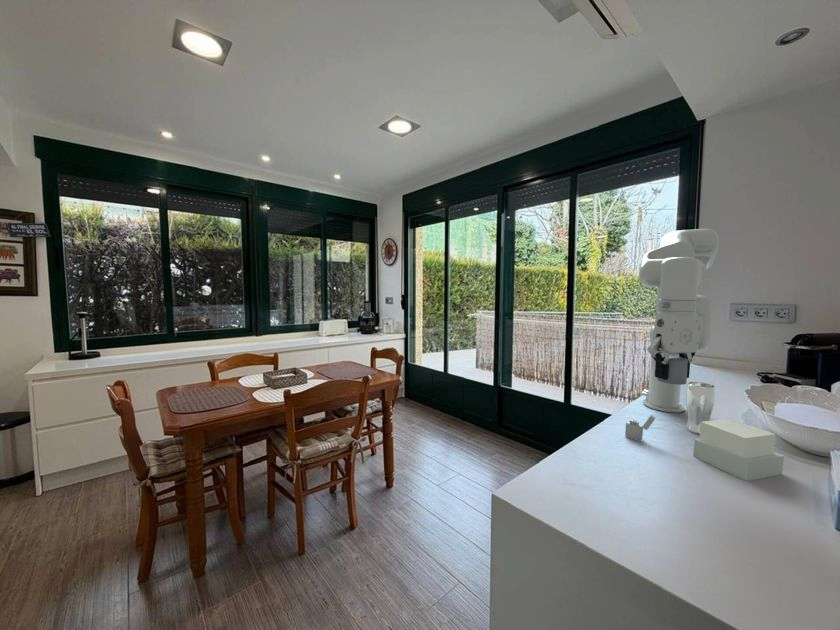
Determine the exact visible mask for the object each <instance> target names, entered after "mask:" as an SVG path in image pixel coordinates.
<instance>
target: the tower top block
mask: <svg viewBox="0 0 840 630" xmlns="http://www.w3.org/2000/svg"><path fill="white" fill-rule="evenodd" d="M698 439H699V440H700V441H703V442H705V443H707V444H710V445H712V446H715V447H717V448H719V449H722V450H724V451H726V452H729V453H731V454H733V455H736V456H738V457H741V458H743V459H744V458H751V457H758V456H764V455H771V454H774V452H775V445H776V433H773V432H770V431H768V430H764V429H761V428H758V427H756V426H753V425H749V424H747V423H743V422H740V421H737V420H734V419H733V418H732V419H731V418H724V419H723V418H722V419H714V420H710V421H703V422H701V427H700V435H699V438H698Z"/></svg>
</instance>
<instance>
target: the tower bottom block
mask: <svg viewBox="0 0 840 630" xmlns="http://www.w3.org/2000/svg"><path fill="white" fill-rule="evenodd" d="M699 439H700V438H695V439H694V442H693V457H694V458H696V459H698V460H701V461H703V462H705V463H707V464H709V465H711V466H714V467H716V468H718V469H720V470H722V471H724V472H727V473H729V474H731V475H733V476H734V477H737V478H739V479H741V480H744V481H746V482H749V481H753V480H759V479H763V478H769V477H774V476H779V475H783V470H784V469H783V468H784V462H785V461H784V460H785V459H784V458H785V455H784V454H780V453H777V452H775V451H774V454H771V455H764V456H758V457H751V458H744V459H743V458H741V457H738V456H736V455H733V454H731V453H729V452H726V451H724V450H722V449H719V448H717V447H715V446H712V445H710V444H707V443H705V442H703V441H700V440H699Z"/></svg>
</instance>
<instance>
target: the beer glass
mask: <svg viewBox="0 0 840 630" xmlns="http://www.w3.org/2000/svg"><path fill="white" fill-rule="evenodd" d="M685 393H686V394H685V403H686V410H687V422H686V425H685V430H686V431H687V432H689V433H692V434H695V435H699V436H700V427H701V422H703V421H711V418H712V414H713V412H714V408H715V402H716V386H715V385H713V384H711V383H706V382H700V381H688V382H687V387H686V392H685Z"/></svg>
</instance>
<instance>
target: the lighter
mask: <svg viewBox="0 0 840 630" xmlns="http://www.w3.org/2000/svg"><path fill="white" fill-rule="evenodd" d="M656 419H657V417H655V416H653V415H650V416H649V417H648V418H647V420H646V421H645V422H644V424H643V425H642V424H640V421H639V420H635V419H630V420H629V421H626V422H625V433H624V434H625V435H624V437H625V436H626V437H625V438H627V437H628V438H629V439H631V438H632V440H634V439H636V440H635V441H638V440H639V442H642V441H643V436H644V435H643V433H644V430H646V431H647V430H649V428H650V426H651V425H652V424H653V423H654V422H655V421H656ZM641 440H642V441H641Z"/></svg>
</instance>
